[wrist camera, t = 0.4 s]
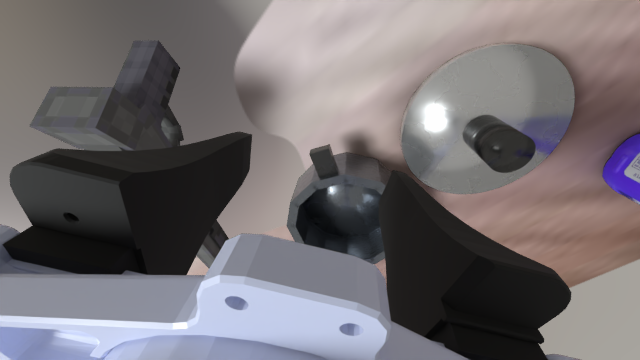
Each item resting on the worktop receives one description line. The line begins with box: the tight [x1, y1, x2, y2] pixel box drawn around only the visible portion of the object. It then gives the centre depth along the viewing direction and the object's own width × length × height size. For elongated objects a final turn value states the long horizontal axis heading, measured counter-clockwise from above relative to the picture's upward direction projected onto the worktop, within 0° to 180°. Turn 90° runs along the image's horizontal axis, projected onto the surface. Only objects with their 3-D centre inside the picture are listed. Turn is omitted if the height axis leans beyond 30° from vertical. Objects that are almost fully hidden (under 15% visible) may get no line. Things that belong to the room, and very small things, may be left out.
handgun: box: [30, 41, 229, 268], centre depth 24 cm, size 4×24×10 cm, turn 1°
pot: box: [287, 144, 391, 264], centre depth 24 cm, size 15×11×4 cm
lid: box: [400, 43, 575, 194], centre depth 17 cm, size 12×12×6 cm
